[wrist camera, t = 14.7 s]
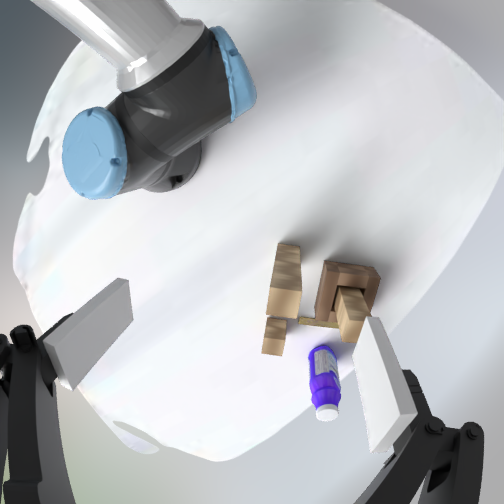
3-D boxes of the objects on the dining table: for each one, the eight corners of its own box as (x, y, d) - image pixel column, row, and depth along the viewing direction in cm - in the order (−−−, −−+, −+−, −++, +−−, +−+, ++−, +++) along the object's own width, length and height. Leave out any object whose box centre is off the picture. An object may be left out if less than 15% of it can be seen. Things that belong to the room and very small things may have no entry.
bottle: (339, 361, 58) (348, 419, 41) (317, 370, 59) (320, 428, 43) (327, 339, 56) (335, 399, 40) (304, 349, 58) (304, 410, 41)
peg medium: (331, 295, 53) (342, 341, 39) (335, 277, 51) (349, 320, 37) (350, 298, 52) (366, 343, 38) (355, 280, 51) (374, 322, 37)
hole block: (314, 306, 54) (315, 320, 49) (324, 260, 50) (327, 270, 46) (360, 312, 53) (365, 325, 48) (373, 267, 49) (380, 278, 45)
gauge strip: (298, 322, 56) (298, 323, 55) (299, 316, 55) (299, 317, 55) (366, 330, 54) (366, 331, 54) (368, 324, 54) (368, 325, 53)
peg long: (275, 263, 52) (266, 314, 35) (277, 243, 51) (269, 287, 34) (296, 266, 52) (296, 318, 35) (299, 246, 50) (302, 291, 33)
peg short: (265, 332, 58) (261, 353, 51) (267, 317, 56) (263, 337, 50) (283, 335, 57) (281, 356, 51) (286, 320, 56) (285, 340, 49)
